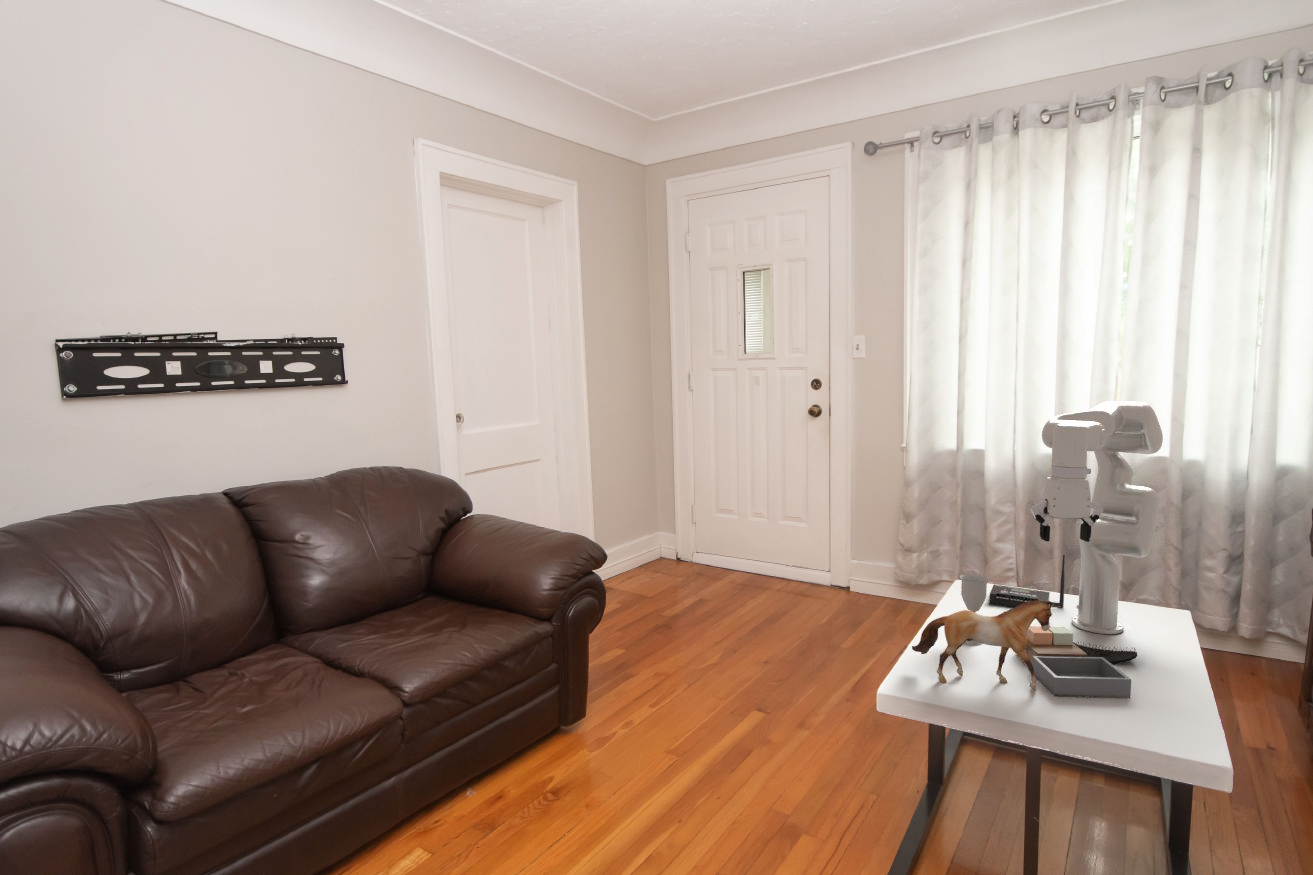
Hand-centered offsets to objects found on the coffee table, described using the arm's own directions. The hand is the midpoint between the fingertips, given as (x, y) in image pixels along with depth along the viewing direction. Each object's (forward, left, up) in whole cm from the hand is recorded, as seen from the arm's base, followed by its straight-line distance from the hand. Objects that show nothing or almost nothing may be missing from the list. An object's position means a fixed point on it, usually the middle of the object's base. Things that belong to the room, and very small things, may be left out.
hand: (1064, 540), depth 177 cm
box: (+14, -2, -31) cm, 35 cm away
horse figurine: (+11, -24, -32) cm, 41 cm away
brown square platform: (+2, -3, -31) cm, 32 cm away
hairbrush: (-6, +8, -32) cm, 34 cm away
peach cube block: (0, -5, -26) cm, 27 cm away
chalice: (-11, -18, -32) cm, 38 cm away
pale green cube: (0, 0, -26) cm, 26 cm away
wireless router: (-42, +9, -32) cm, 54 cm away
